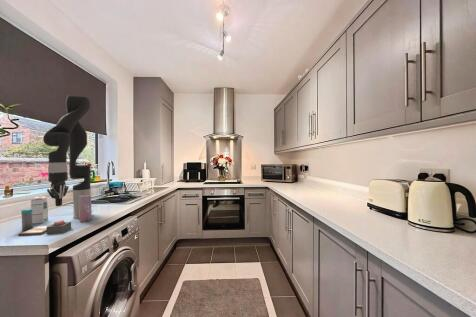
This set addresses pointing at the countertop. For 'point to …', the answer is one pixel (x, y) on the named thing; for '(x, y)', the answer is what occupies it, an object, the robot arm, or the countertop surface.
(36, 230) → the drawing board
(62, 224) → the button
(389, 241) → the countertop surface
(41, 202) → the syrup box
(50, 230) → the button box
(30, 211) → the green lidded grey container
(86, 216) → the tall pink box
